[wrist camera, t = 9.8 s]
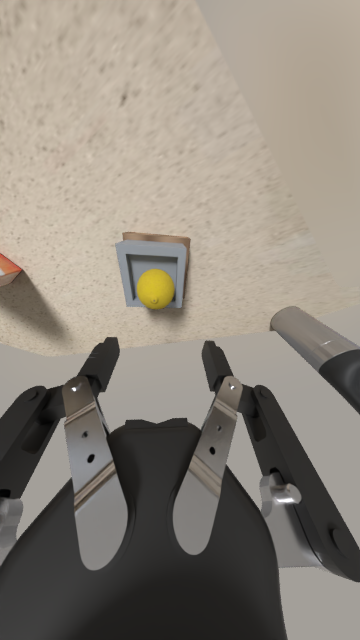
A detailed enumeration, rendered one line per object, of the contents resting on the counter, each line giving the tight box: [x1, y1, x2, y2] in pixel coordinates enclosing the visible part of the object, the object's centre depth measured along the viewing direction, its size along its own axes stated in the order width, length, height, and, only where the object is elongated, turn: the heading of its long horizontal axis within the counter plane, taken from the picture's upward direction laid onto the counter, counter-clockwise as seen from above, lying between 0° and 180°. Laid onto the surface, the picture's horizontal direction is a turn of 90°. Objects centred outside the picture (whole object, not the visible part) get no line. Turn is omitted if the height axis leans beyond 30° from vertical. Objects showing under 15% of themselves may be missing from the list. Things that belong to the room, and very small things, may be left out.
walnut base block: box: [122, 232, 190, 298], centre depth 29 cm, size 12×12×5 cm
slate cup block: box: [115, 240, 187, 308], centre depth 24 cm, size 10×10×6 cm
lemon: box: [137, 269, 175, 309], centre depth 20 cm, size 6×6×8 cm
